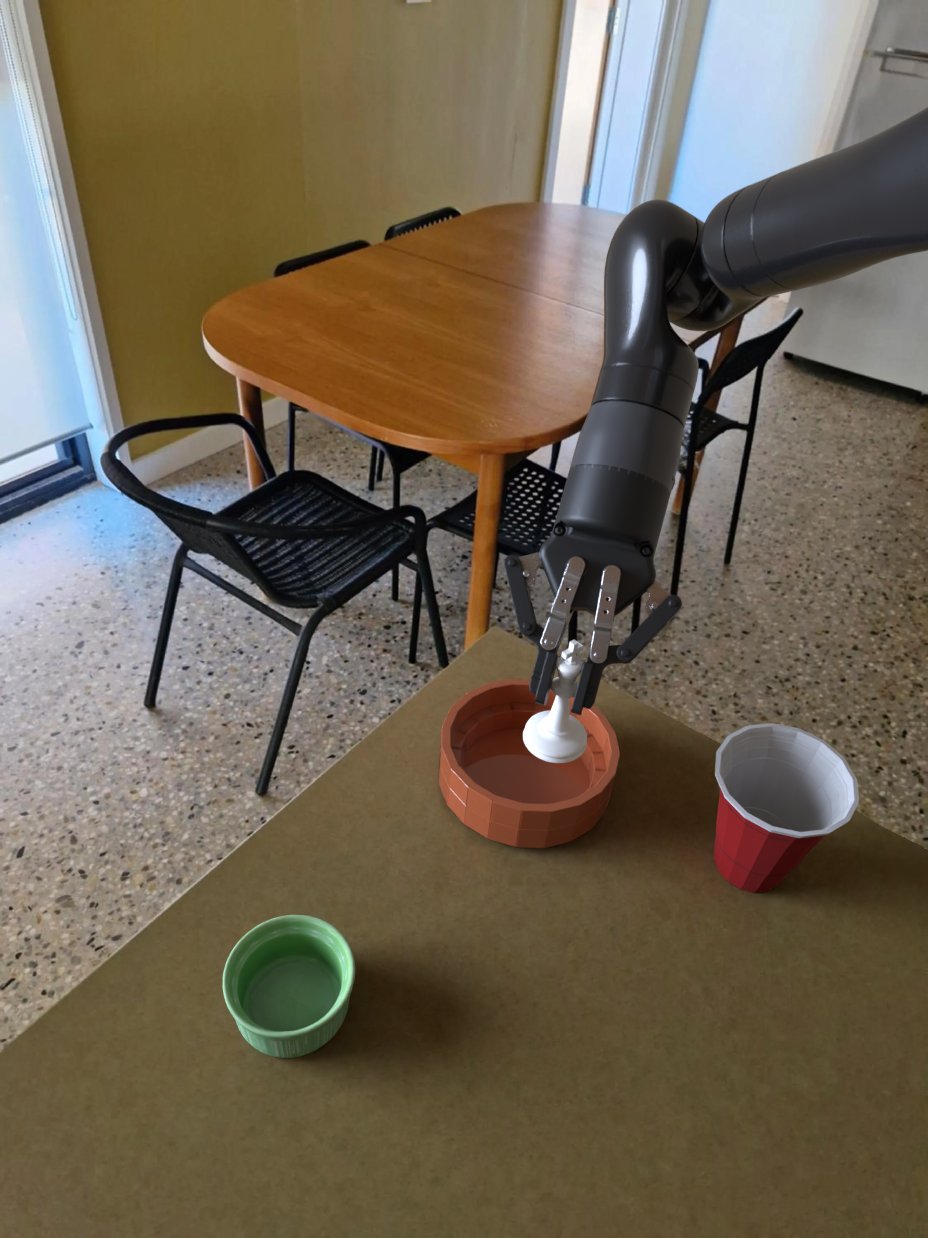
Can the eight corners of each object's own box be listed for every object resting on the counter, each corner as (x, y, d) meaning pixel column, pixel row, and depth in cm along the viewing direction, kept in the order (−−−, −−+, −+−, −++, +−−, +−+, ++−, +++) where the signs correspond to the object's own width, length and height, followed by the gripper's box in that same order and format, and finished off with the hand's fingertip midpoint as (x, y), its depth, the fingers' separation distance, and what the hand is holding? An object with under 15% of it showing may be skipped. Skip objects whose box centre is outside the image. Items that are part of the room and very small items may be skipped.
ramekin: (381, 991, 65) (381, 959, 62) (296, 1095, 59) (293, 1065, 56) (289, 925, 69) (286, 892, 66) (201, 1017, 63) (193, 985, 60)
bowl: (637, 770, 83) (649, 730, 80) (553, 884, 73) (562, 843, 70) (499, 696, 90) (504, 656, 86) (403, 791, 79) (405, 750, 76)
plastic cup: (656, 857, 76) (688, 763, 68) (729, 795, 82) (766, 702, 74) (764, 948, 70) (812, 856, 62) (835, 874, 76) (887, 781, 68)
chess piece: (509, 733, 68) (524, 636, 62) (555, 706, 71) (573, 610, 65) (554, 773, 66) (574, 676, 59) (599, 744, 68) (624, 647, 62)
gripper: (523, 442, 62) (457, 680, 61) (721, 485, 60) (656, 736, 58) (533, 472, 70) (474, 686, 68) (710, 512, 67) (652, 735, 66)
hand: (558, 708), depth 63 cm, fingers closed on chess piece
